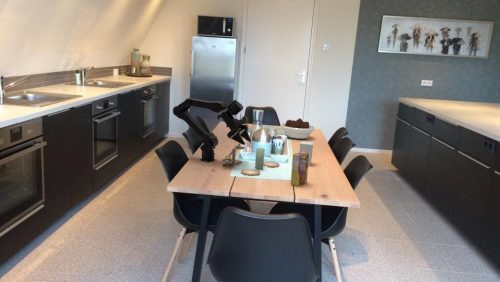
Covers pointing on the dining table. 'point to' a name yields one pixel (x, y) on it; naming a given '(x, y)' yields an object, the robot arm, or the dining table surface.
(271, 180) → the dining table surface
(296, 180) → the candy box
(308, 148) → the supplement box
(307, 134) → the bowl with brown lumps
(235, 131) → the robot arm
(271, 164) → the dish
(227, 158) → the balance
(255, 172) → the dish
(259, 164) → the grey green cylinder
